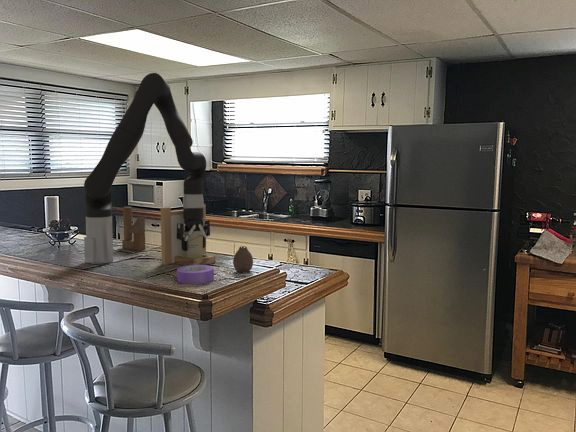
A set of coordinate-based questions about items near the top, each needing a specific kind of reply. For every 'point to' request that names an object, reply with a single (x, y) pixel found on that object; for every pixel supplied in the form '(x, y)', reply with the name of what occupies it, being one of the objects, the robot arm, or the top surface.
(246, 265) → the vase
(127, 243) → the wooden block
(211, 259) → the rail slot
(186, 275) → the masking tape
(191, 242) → the skincare box
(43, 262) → the top surface
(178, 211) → the headboard panel
